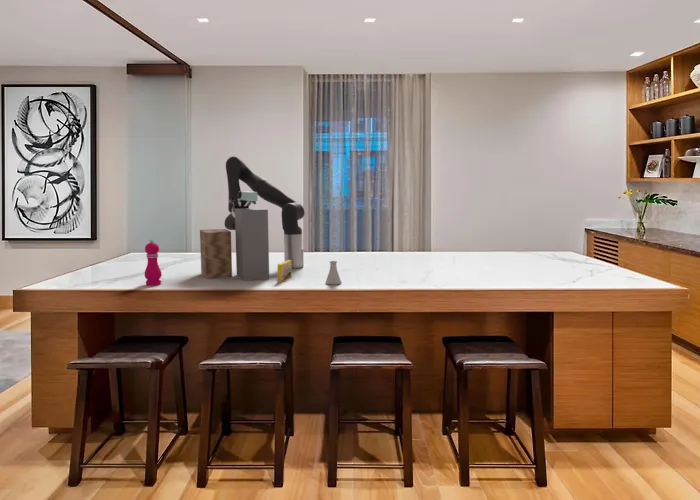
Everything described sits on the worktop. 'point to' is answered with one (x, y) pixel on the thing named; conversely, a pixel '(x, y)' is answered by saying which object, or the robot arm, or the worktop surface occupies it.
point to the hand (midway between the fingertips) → (245, 192)
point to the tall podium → (252, 243)
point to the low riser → (216, 253)
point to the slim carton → (248, 196)
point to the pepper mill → (152, 264)
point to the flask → (333, 274)
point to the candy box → (284, 271)
